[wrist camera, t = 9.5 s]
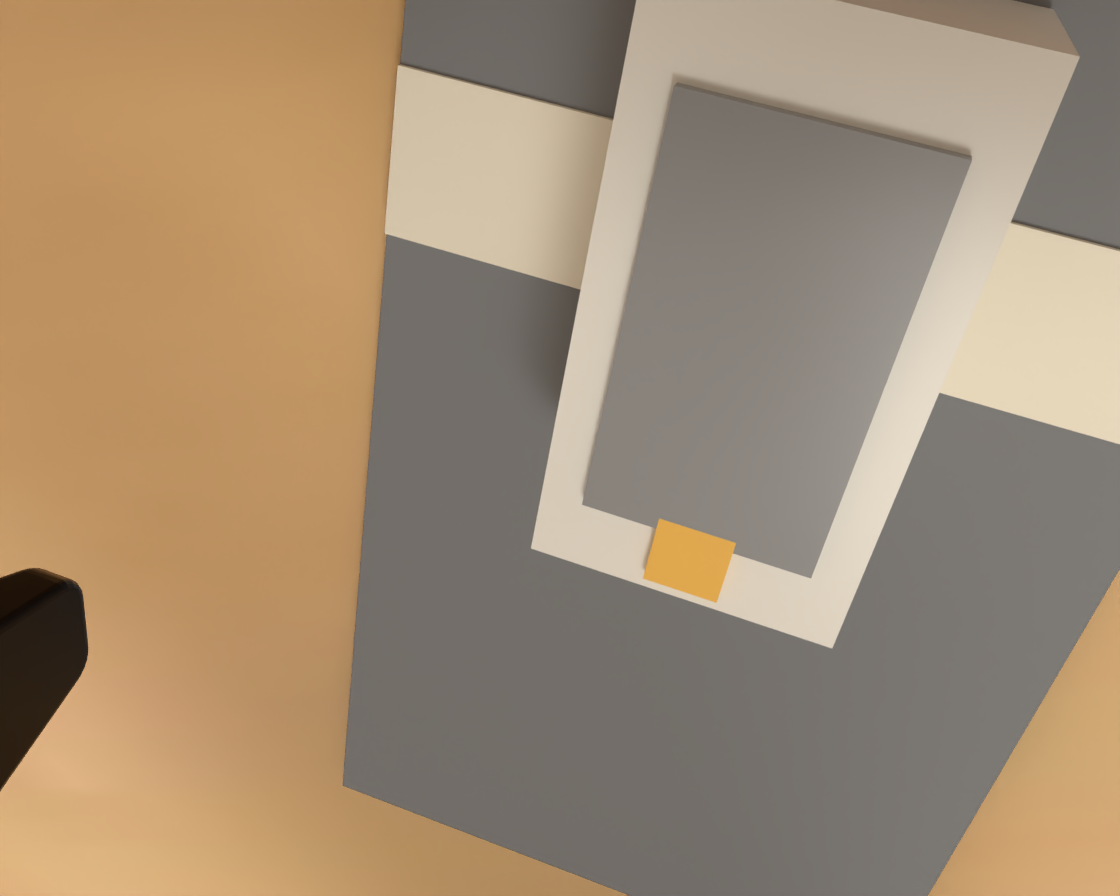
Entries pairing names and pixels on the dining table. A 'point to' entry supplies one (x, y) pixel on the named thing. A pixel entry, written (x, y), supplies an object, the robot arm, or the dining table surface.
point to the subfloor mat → (671, 622)
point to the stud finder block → (785, 285)
